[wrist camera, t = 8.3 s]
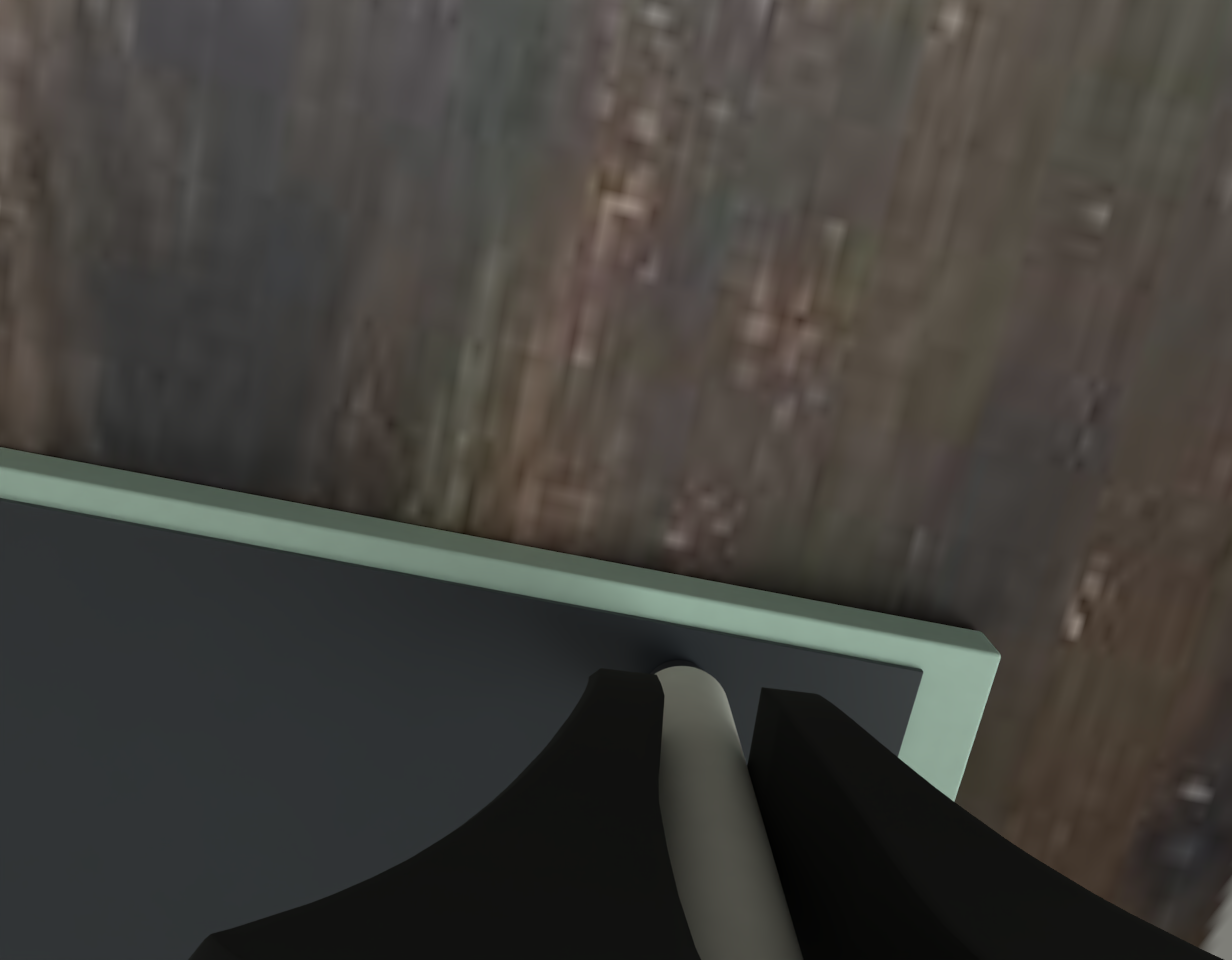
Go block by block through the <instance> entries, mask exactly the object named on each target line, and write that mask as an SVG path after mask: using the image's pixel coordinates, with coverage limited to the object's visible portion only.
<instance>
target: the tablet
mask: <svg viewBox="0 0 1232 960" xmlns="http://www.w3.org/2000/svg"><path fill="white" fill-rule="evenodd" d="M1000 658H1001V656H1000V653H999V652H998V651H997V650H996V648H995V647H994V646H993V645H992V644H991V642H990V641H989V640H988V639H987V638H986V637H985V635H984V634H983V633H982V632H980V631H975V630H970V629H964V628H959V627H954V626H948V625H943V624H938V623H932V622H927V621H922V620H916V619H911V618H906V617H900V616H895V615H890V614H885V613H879V612H874V611H869V610H863V609H858V608H853V607H847V606H842V605H837V604H831V603H826V602H821V601H815V600H810V599H805V598H800V597H794V596H789V595H784V594H778V593H773V592H768V591H762V590H757V589H752V588H746V587H741V586H736V585H730V584H725V583H720V582H715V581H709V580H704V579H699V578H693V577H688V576H683V575H677V574H672V573H667V572H661V571H656V570H651V569H645V568H640V567H635V566H630V565H624V564H619V563H614V562H608V561H603V560H598V559H592V558H587V557H582V556H576V555H571V554H566V553H560V552H555V551H550V550H545V549H539V548H534V547H529V546H523V545H518V544H513V543H507V542H502V541H497V540H491V539H486V538H481V537H475V536H470V535H465V534H460V533H454V532H449V531H444V530H438V529H433V528H428V527H422V526H417V525H412V524H406V523H401V522H396V521H390V520H385V519H380V518H375V517H369V516H364V515H359V514H353V513H348V512H343V511H337V510H332V509H327V508H321V507H316V506H311V505H305V504H300V503H295V502H290V501H284V500H279V499H274V498H268V497H263V496H258V495H252V494H247V493H242V492H236V491H231V490H226V489H220V488H215V487H210V486H205V485H199V484H194V483H189V482H183V481H178V480H173V479H167V478H162V477H157V476H151V475H146V474H141V473H135V472H130V471H125V470H120V469H114V468H109V467H104V466H98V465H93V464H88V463H82V462H77V461H72V460H66V459H61V458H56V457H50V456H45V455H40V454H35V453H29V452H24V451H19V450H13V449H8V448H3V447H0V960H188V959H189V958H190V957H191V955H192V954H193V953H194V952H195V950H196V949H197V948H198V947H199V945H200V944H201V943H202V942H203V940H204V939H205V938H207V937H208V936H209V935H210V934H212V933H216V932H220V931H223V930H227V929H231V928H235V927H238V926H241V925H244V924H247V923H250V922H253V921H256V920H259V919H262V918H266V917H269V916H272V915H275V914H278V913H281V912H284V911H287V910H290V909H293V908H297V907H300V906H303V905H306V904H309V903H312V902H314V901H317V900H320V899H322V898H325V897H327V896H330V895H332V894H335V893H337V892H340V891H342V890H344V889H347V888H349V887H351V886H353V885H356V884H358V883H360V882H363V881H365V880H367V879H370V878H372V877H374V876H376V875H378V874H380V873H382V872H384V871H386V870H388V869H390V868H392V867H394V866H396V865H398V864H400V863H402V862H404V861H406V860H408V859H410V858H411V857H413V856H415V855H416V854H418V853H419V852H421V851H423V850H424V849H426V848H428V847H429V846H431V845H432V844H434V843H436V842H437V841H439V840H441V839H442V838H444V837H445V836H447V835H448V834H450V833H451V832H453V831H454V830H456V829H457V828H459V827H460V826H461V825H463V824H464V823H465V822H467V821H468V820H469V819H470V818H472V817H473V816H474V815H475V814H477V813H478V812H479V811H480V810H482V809H483V808H484V807H485V806H487V805H488V804H489V803H490V802H491V801H492V800H494V799H495V798H496V797H497V796H498V795H499V794H500V793H501V792H502V791H504V790H505V789H506V788H507V787H508V786H509V785H510V784H511V783H512V782H513V781H514V780H515V779H516V778H517V777H518V776H519V775H520V774H521V773H522V772H523V771H524V769H525V768H526V767H527V766H528V765H529V764H530V763H531V762H532V761H533V760H534V759H535V758H536V757H537V756H538V755H539V754H540V753H541V752H542V750H543V749H544V748H545V747H546V746H547V745H548V743H549V742H550V741H551V739H552V738H553V737H554V736H555V734H556V733H557V732H558V730H559V729H560V728H561V726H562V725H563V724H564V722H565V721H566V720H567V719H568V717H569V716H570V714H571V713H572V711H573V710H574V708H575V707H576V705H577V703H578V702H579V700H580V698H581V697H582V695H583V693H584V691H585V689H586V686H587V684H588V680H589V676H590V675H592V674H593V673H595V672H596V671H597V670H599V669H600V668H605V669H614V670H622V671H630V672H639V673H647V674H650V673H651V672H652V671H653V670H654V669H655V668H656V667H658V666H659V665H661V664H663V663H665V662H668V661H673V660H683V661H688V662H691V663H693V664H695V665H697V666H699V667H700V668H701V669H702V670H703V671H705V672H706V673H708V674H710V675H711V676H712V677H713V678H715V679H716V680H717V681H718V682H719V684H720V685H721V686H722V688H723V690H724V692H725V693H726V696H727V699H728V702H729V706H730V709H731V713H732V716H733V720H734V723H735V727H736V730H737V733H738V737H739V740H740V744H741V747H742V751H743V754H744V757H745V761H746V764H747V765H748V759H749V754H750V748H751V743H752V737H753V732H754V726H755V721H756V715H757V710H758V704H759V699H760V693H761V688H762V687H765V688H773V689H781V690H790V691H798V692H807V693H815V694H819V695H820V696H822V697H824V698H825V699H827V700H828V701H830V702H831V703H832V704H834V705H835V706H836V707H838V708H839V709H840V710H841V711H843V712H844V713H845V714H846V715H848V716H849V717H850V718H851V719H853V720H854V721H855V722H856V723H857V724H859V725H860V726H861V727H862V728H863V729H865V730H866V731H867V732H868V733H869V734H871V735H872V736H873V737H874V738H875V739H877V740H878V741H879V742H880V743H881V744H882V745H884V746H885V747H886V748H887V749H889V750H890V751H891V752H892V753H893V754H895V755H896V756H897V757H898V758H899V759H901V760H902V761H903V762H904V763H905V764H907V765H908V766H909V767H910V768H912V769H913V770H914V771H915V772H917V773H918V774H919V775H920V776H922V777H923V778H924V779H925V780H927V781H928V782H929V783H930V784H932V785H933V786H934V787H935V788H937V789H938V790H939V791H941V792H942V793H943V794H945V795H946V796H947V797H948V798H950V799H951V800H952V801H955V798H956V795H957V792H958V789H959V786H960V783H961V779H962V776H963V773H964V770H965V767H966V764H967V761H968V758H969V755H970V751H971V748H972V745H973V742H974V739H975V736H976V733H977V730H978V727H979V724H980V720H981V717H982V714H983V711H984V708H985V705H986V702H987V699H988V696H989V692H990V689H991V686H992V683H993V680H994V677H995V674H996V671H997V668H998V664H999V661H1000Z"/></svg>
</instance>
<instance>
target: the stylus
mask: <svg viewBox="0 0 1232 960" xmlns="http://www.w3.org/2000/svg"><path fill="white" fill-rule="evenodd" d="M650 674H656V675H657V676H658V678H659V680H660V682H661V685H662V688H663V692H664V695H665V698H664V713H663V727H662V741H661V754H660V768H659V805H660V810H661V816H662V821H663V827H664V833H665V838H666V844H667V849H668V853H669V857H670V862H671V866H672V870H673V874H674V878H675V883H676V887H677V891H678V895H679V898H680V901H681V905H682V908H683V911H684V914H685V917H686V920H687V923H688V926H689V929H690V932H691V935H692V938H693V941H694V944H695V947H696V950H697V952H698V954H699V956H700V958H701V960H803V957H802V953H801V950H800V946H799V943H798V940H797V936H796V933H795V929H794V926H793V922H792V919H791V915H790V912H789V909H788V905H787V902H786V898H785V895H784V891H783V888H782V885H781V881H780V878H779V874H778V871H777V867H776V864H775V861H774V857H773V854H772V850H771V847H770V843H769V840H768V836H767V833H766V830H765V826H764V823H763V819H762V816H761V812H760V809H759V806H758V802H757V799H756V795H755V792H754V788H753V785H752V782H751V778H750V775H749V771H748V768H747V764H746V761H745V757H744V754H743V751H742V747H741V744H740V740H739V737H738V733H737V730H736V727H735V723H734V720H733V716H732V713H731V709H730V706H729V702H728V699H727V696H726V693H725V692H724V690H723V688H722V686H721V685H720V684H719V682H718V681H717V680H716V679H715V678H713V677H712V676H711V675H710V674H708V673H706V672H705V671H703V670H702V669H701V668H700V667H699V666H697V665H695V664H693V663H691V662H688V661H683V660H673V661H668V662H665V663H663V664H661V665H659V666H658V667H656V668H655V669H654V670H653V671H652V672H651V673H650Z"/></svg>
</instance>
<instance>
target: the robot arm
mask: <svg viewBox="0 0 1232 960" xmlns="http://www.w3.org/2000/svg"><path fill="white" fill-rule="evenodd" d="M664 698H665V695H664V692H663V688H662V685H661V682H660V680H659V678H658V676H657V675H656V674H647V673H639V672H630V671H622V670H614V669H605V668H600V669H599V670H597V671H596V672H595V673H593V674H592V675H590V676H589V680H588V684H587V686H586V689H585V691H584V693H583V695H582V697H581V698H580V700H579V702H578V703H577V705H576V707H575V708H574V710H573V711H572V713H571V714H570V716H569V717H568V719H567V720H566V721H565V722H564V724H563V725H562V726H561V728H560V729H559V730H558V732H557V733H556V734H555V736H554V737H553V738H552V739H551V741H550V742H549V743H548V745H547V746H546V747H545V748H544V749H543V750H542V752H541V753H540V754H539V755H538V756H537V757H536V758H535V759H534V760H533V761H532V762H531V763H530V764H529V765H528V766H527V767H526V768H525V769H524V771H523V772H522V773H521V774H520V775H519V776H518V777H517V778H516V779H515V780H514V781H513V782H512V783H511V784H510V785H509V786H508V787H507V788H506V789H505V790H504V791H502V792H501V793H500V794H499V795H498V796H497V797H496V798H495V799H494V800H492V801H491V802H490V803H489V804H488V805H487V806H485V807H484V808H483V809H482V810H480V811H479V812H478V813H477V814H475V815H474V816H473V817H472V818H470V819H469V820H468V821H467V822H465V823H464V824H463V825H461V826H460V827H459V828H457V829H456V830H454V831H453V832H451V833H450V834H448V835H447V836H445V837H444V838H442V839H441V840H439V841H437V842H436V843H434V844H432V845H431V846H429V847H428V848H426V849H424V850H423V851H421V852H419V853H418V854H416V855H415V856H413V857H411V858H410V859H408V860H406V861H404V862H402V863H400V864H398V865H396V866H394V867H392V868H390V869H388V870H386V871H384V872H382V873H380V874H378V875H376V876H374V877H372V878H370V879H367V880H365V881H363V882H360V883H358V884H356V885H353V886H351V887H349V888H347V889H344V890H342V891H340V892H337V893H335V894H332V895H330V896H327V897H325V898H322V899H320V900H317V901H314V902H312V903H309V904H306V905H303V906H300V907H297V908H293V909H290V910H287V911H284V912H281V913H278V914H275V915H272V916H269V917H266V918H262V919H259V920H256V921H253V922H250V923H247V924H244V925H241V926H238V927H235V928H231V929H227V930H223V931H220V932H216V933H212V934H210V935H209V936H208V937H207V938H205V939H204V940H203V942H202V943H201V944H200V945H199V947H198V948H197V949H196V950H195V952H194V953H193V954H192V955H191V957H190V958H189V959H188V960H701V958H700V956H699V954H698V952H697V950H696V947H695V944H694V941H693V938H692V935H691V932H690V929H689V926H688V923H687V920H686V917H685V914H684V911H683V908H682V905H681V901H680V898H679V895H678V891H677V887H676V883H675V878H674V874H673V870H672V866H671V862H670V857H669V853H668V849H667V844H666V838H665V833H664V827H663V821H662V816H661V810H660V805H659V768H660V754H661V741H662V727H663V713H664ZM747 768H748V771H749V775H750V778H751V782H752V785H753V788H754V792H755V795H756V799H757V802H758V806H759V809H760V812H761V816H762V819H763V823H764V826H765V830H766V833H767V836H768V840H769V843H770V847H771V850H772V854H773V857H774V861H775V864H776V867H777V871H778V874H779V878H780V881H781V885H782V888H783V891H784V895H785V898H786V902H787V905H788V909H789V912H790V915H791V919H792V922H793V926H794V929H795V933H796V936H797V940H798V943H799V946H800V950H801V953H802V957H803V960H1223V959H1221V958H1219V957H1217V956H1215V955H1212V954H1210V953H1208V952H1206V951H1204V950H1202V949H1200V948H1198V947H1196V946H1194V945H1192V944H1190V943H1188V942H1186V941H1184V940H1182V939H1180V938H1178V937H1176V936H1174V935H1172V934H1170V933H1168V932H1166V931H1164V930H1162V929H1160V928H1158V927H1156V926H1154V925H1152V924H1150V923H1148V922H1146V921H1144V920H1142V919H1140V918H1138V917H1136V916H1134V915H1132V914H1130V913H1128V912H1126V911H1125V910H1123V909H1121V908H1119V907H1117V906H1115V905H1114V904H1112V903H1110V902H1108V901H1106V900H1104V899H1103V898H1101V897H1099V896H1097V895H1095V894H1094V893H1092V892H1090V891H1088V890H1087V889H1085V888H1083V887H1082V886H1080V885H1079V884H1077V883H1075V882H1074V881H1072V880H1070V879H1069V878H1067V877H1065V876H1064V875H1062V874H1060V873H1059V872H1057V871H1055V870H1054V869H1052V868H1050V867H1049V866H1047V865H1045V864H1044V863H1042V862H1040V861H1039V860H1037V859H1036V858H1034V857H1032V856H1031V855H1029V854H1028V853H1026V852H1025V851H1023V850H1022V849H1020V848H1019V847H1017V846H1016V845H1014V844H1012V843H1011V842H1009V841H1008V840H1007V839H1005V838H1004V837H1002V836H1001V835H999V834H998V833H997V832H995V831H994V830H992V829H991V828H990V827H988V826H987V825H985V824H984V823H983V822H981V821H980V820H978V819H977V818H976V817H974V816H973V815H971V814H970V813H969V812H967V811H966V810H965V809H963V808H962V807H960V806H959V805H958V804H956V803H955V802H954V801H952V800H951V799H950V798H948V797H947V796H946V795H945V794H943V793H942V792H941V791H939V790H938V789H937V788H935V787H934V786H933V785H932V784H930V783H929V782H928V781H927V780H925V779H924V778H923V777H922V776H920V775H919V774H918V773H917V772H915V771H914V770H913V769H912V768H910V767H909V766H908V765H907V764H905V763H904V762H903V761H902V760H901V759H899V758H898V757H897V756H896V755H895V754H893V753H892V752H891V751H890V750H889V749H887V748H886V747H885V746H884V745H882V744H881V743H880V742H879V741H878V740H877V739H875V738H874V737H873V736H872V735H871V734H869V733H868V732H867V731H866V730H865V729H863V728H862V727H861V726H860V725H859V724H857V723H856V722H855V721H854V720H853V719H851V718H850V717H849V716H848V715H846V714H845V713H844V712H843V711H841V710H840V709H839V708H838V707H836V706H835V705H834V704H832V703H831V702H830V701H828V700H827V699H825V698H824V697H822V696H820V695H819V694H815V693H807V692H798V691H790V690H781V689H773V688H765V687H762V688H761V693H760V699H759V704H758V710H757V715H756V721H755V726H754V732H753V737H752V743H751V748H750V754H749V759H748V765H747Z"/></svg>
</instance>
